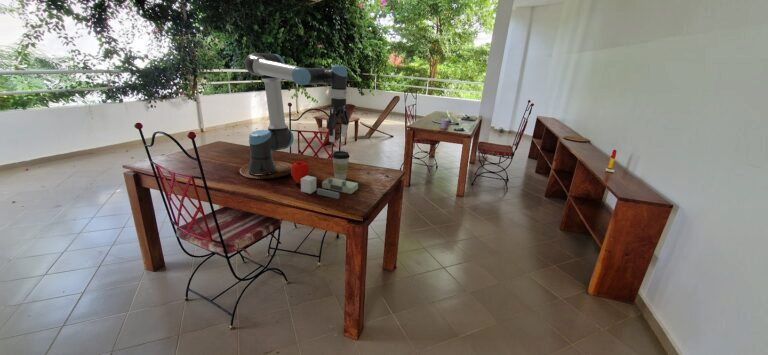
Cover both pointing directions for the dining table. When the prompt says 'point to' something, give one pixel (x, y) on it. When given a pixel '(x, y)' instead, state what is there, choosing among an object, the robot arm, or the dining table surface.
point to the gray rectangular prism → (308, 184)
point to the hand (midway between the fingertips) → (338, 139)
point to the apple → (299, 171)
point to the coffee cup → (340, 164)
